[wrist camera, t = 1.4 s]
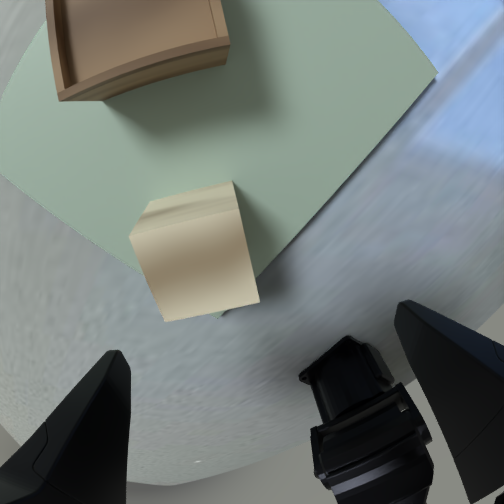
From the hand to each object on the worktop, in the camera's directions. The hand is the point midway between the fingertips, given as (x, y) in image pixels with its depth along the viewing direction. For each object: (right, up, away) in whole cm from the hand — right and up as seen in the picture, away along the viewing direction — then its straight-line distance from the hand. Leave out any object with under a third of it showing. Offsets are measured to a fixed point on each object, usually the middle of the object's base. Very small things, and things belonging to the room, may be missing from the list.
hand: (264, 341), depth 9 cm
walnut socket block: (-6, +15, +3) cm, 17 cm away
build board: (-4, +13, +6) cm, 14 cm away
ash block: (-3, +4, +9) cm, 11 cm away
